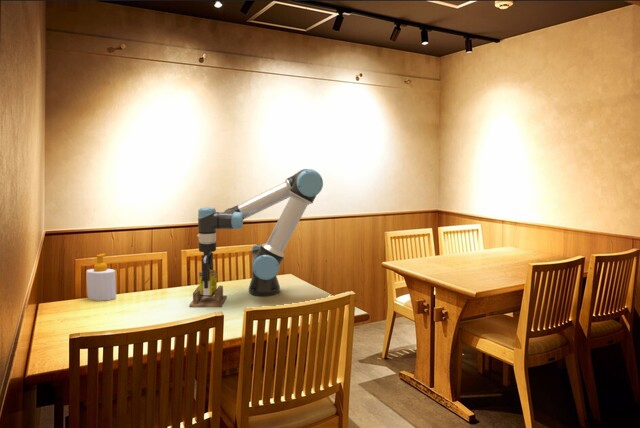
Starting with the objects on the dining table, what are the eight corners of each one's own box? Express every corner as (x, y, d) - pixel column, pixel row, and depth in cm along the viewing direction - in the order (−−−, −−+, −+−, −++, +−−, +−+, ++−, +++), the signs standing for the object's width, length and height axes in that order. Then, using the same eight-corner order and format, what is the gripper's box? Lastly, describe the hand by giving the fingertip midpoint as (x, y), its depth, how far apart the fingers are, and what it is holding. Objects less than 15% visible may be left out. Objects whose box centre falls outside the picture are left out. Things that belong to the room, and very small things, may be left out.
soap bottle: (120, 296, 219) (118, 253, 217) (109, 301, 211) (107, 257, 209) (94, 295, 221) (92, 252, 219) (83, 300, 213) (80, 256, 211)
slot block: (226, 297, 219) (226, 284, 218) (221, 306, 205) (221, 293, 204) (196, 297, 218) (195, 285, 217) (189, 307, 204) (189, 293, 204)
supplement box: (211, 297, 208) (211, 273, 206) (199, 296, 209) (198, 272, 207) (217, 293, 213) (216, 269, 212) (204, 292, 215) (204, 269, 213)
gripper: (203, 238, 218) (204, 286, 221) (193, 246, 198) (195, 299, 201) (219, 238, 218) (220, 286, 221) (211, 246, 199) (212, 299, 201)
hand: (208, 292), depth 211 cm, fingers closed on supplement box, 7 cm apart
